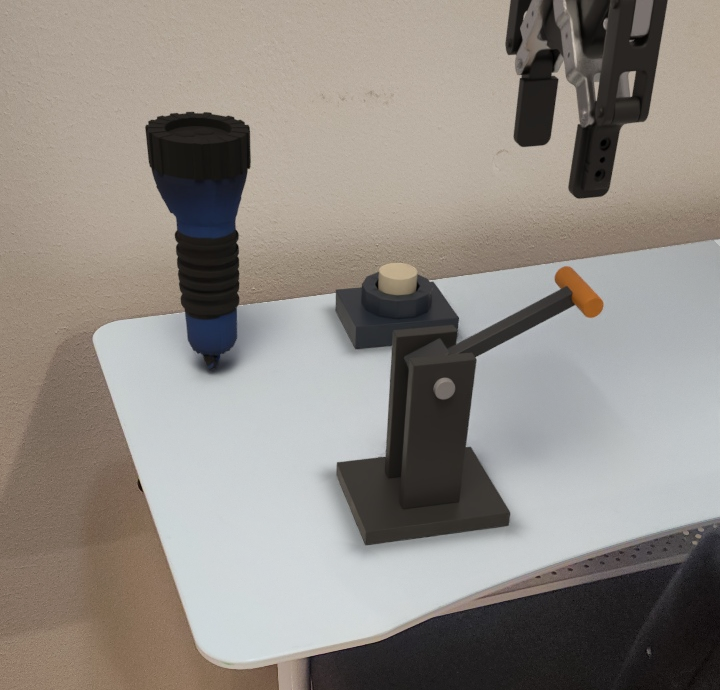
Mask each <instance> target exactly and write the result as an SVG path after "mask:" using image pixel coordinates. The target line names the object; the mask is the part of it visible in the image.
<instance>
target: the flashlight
mask: <svg viewBox="0 0 720 690" xmlns="http://www.w3.org/2000/svg"><path fill="white" fill-rule="evenodd" d="M144 126H145V127H144V128H145V130H144V131H145V137H146V138H145V139H146V147H147V149H146V150H147V156H148V157H147V159H148V164H149V168H150V169H151V173H152V177H153V180H154V182H155V185H156V186H155V187H156V189H157V191H158V193H159V195H160V197H161V199H162V201H163V202H164V204H165V206H166V208H167V209H168V212H169V213H170V214H172V215H173V216H174V217H175V220H176V221H175V222H176V230H175V232H174V240H175V241H176V245H175V255H176V256H177V258H176V266H177V269H178V271H177V272H178V273H177V276H178V281H179V282H178V287H179V291H180V293H181V295H180V305H181V306H182V308H183V309H184V317H185V325H186V337H187V341H188V343H189V345H190V347H191V348H192V349H191V350H192V351H194V352H195V353H197V354H198V355H199V354H200V355H202V356H203V357H202V358H203V360H204V363H205V367H206V368H208V369H209V370H215V369H217V368H218V366H219V364H220V361H221V356H222V355H224V354H226V353H227V352H230V350H231V349H232V348H234V346H235V344H236V343H237V340H238V306H239V305H240V295H239V293H238V292H239V290H240V270H239V268H240V258H239V255H240V246H239V244H238V241H239V240H240V239H239V238H240V234H239V233H240V232H239V231H238V230H237V227H236V223H237V222H236V221H237V216H238V212H239V208H240V204H241V201H242V195H243V192H244V189H245V185H246V182H247V179H248V177H247V176H248V170H250V169H251V165H252V164H251V163H252V156H251V155H252V154H251V153H252V152H251V127H250V125H249V124H246V122H245V121H244V120H242V119H235V117H234V116H232V115H222V114H221V115H220V114H213V113H212V112H210V111H209V112H208V111H204V112H197V113H196V112H194V111H186V112H185V113H178V112H173V113H172V112H171V113H169V115H158V116H156V118H155V119H150V120H148V121H147V124H145V125H144Z"/></svg>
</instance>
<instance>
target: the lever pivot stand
mask: <svg viewBox="0 0 720 690" xmlns="http://www.w3.org/2000/svg"><path fill="white" fill-rule="evenodd" d="M458 331H459V330H458ZM458 331H457V330H456V328H455V327H454V325H446V326H435V327H425V328H414V329H403V330H393V337H392V345H391V357H390V371H389V373H390V374H389V390H388V391H389V392H388V406H387V408H388V409H387V425H386V443H385V445H386V446H385V456H378V457H370V458H362V459H354V460H353V459H352V460H345V461H336V477H337V480H338V482H339V485H340V487H341V489H342V492H343V494H344V496H345V499H346V501H347V504H348V506H349V509H350V511H351V514H352V516H353V519H354V521H355V523H356V525H357V528H358V531H359V533H360V535H361V537H362V540H363V542H364V545H365V546H367V545H368V546H369V545H376V544H382V543H383V544H384V543H390V542H398V541H404V540H411V539H421V538H426V537H435V536H440V535H448V534H456V533H464V532H471V531H478V530H486V529H492V528H501V527H508V526H509V523H510V518H511V511H510V509H509V508H508V506H507V504H506V503H505V501H504V499H503V498H502V496H501V494H500V493H499V491H498V489H497V488H496V486H495V484H494V483H493V481H492V479H491V477H490V476H489V475H488V473H487V471H486V470H485V467H484V466H483V465H482V463H481V461H480V459H479V458H478V456H477V455H476V453H475V451H474V450H473V448H472V447H471V446H467V441H468V435H469V434H468V432H469V425H470V417H471V410H472V401H473V393H474V385H475V376H476V368H477V357H475V356H474V355H473V353H461V354H451V355H441V356H431V357H420V358H410V360H409V369H408V366H407V364H406V362H405V360H404V357H405V356H406V355H408V354H410V353H412V352H414V351H416V350H418V349H420V348H422V347H424V346H425V345H427V344H429V343H431V342H433V341H435V340H437V339H439V338H440V339H441V340H442V342H443V343H444V345H445V347H446V348H447V349H448V348H450V347H452V346H454V345H455V344H457V343H458V342H457V341H458V333H457V332H458Z"/></svg>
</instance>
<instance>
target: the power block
mask: <svg viewBox="0 0 720 690" xmlns="http://www.w3.org/2000/svg"><path fill="white" fill-rule="evenodd" d="M378 281H379V271H377V272H375V273H372V274H370V275H367V276H366V277H365V278H364V280H363V281H362V283H361V287H351V288H349V287H348V288H338V289H335V312H336V315H337V317H338V318H339V321H340V322H341V324H342V326H343V328H344V330H345V331H346V333H347V336H348V337H349V339H350V341H351V343H352V345H353V347H354V349H355V350H356V349H369V348H379V347H388V346H389V347H390V346H392V337H393V330H403V329H414V328H425V327H435V326H446V325H454V327H455V328H456V330H457V331H459V323H460V322H459V321H460V317H459V315H458V314H457V312H456V310H454V308H453V307H452V306H451V304H450V302H449V301H448V300H447V298H446V297H445V295H444V294H443V293H442V291H441V290H440V289H439V287H438V286H437V284H436V283H435V281H430V280H429V279H428V278H427V277H425V276H422V275H421V274H418V273H417V286H416V292H414V293H411V294H406V295H393V294H386V293H384V292H382V291H380V290H379V289H378ZM457 334H458V332H457Z"/></svg>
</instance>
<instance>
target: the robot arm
mask: <svg viewBox="0 0 720 690" xmlns="http://www.w3.org/2000/svg"><path fill="white" fill-rule="evenodd" d="M668 1H669V0H510V2H509V8H508V9H509V10H508V19H507V27H506V35H505V42H504V43H505V44H504V45H505V51H506V54H507V55H508V56H515V60H514V69H515V70H514V71H515V73H516V75H517V76H520V77H519V81H518V91H517V101H516V107H515V108H516V109H515V116H514V117H515V119H514V127H513V140H514V142H515V143H516V144H517V145H518V146H520V147H521V148H529V147H543V146H546V145H547V144H548V143H549V142H550V140H551V138H552V132H553V131H552V130H553V124H554V118H555V116H554V115H555V109H556V103H557V102H556V101H557V95H558V86H559V78H558V77H557V76H555V75H553V74H555V73H558V72H559V71H560V69H561V67H562V65H563V63H564V65H563V66H564V73H565V78H566V81H567V82H568V83H569V84H570V85H572V86H573V87H574V88H575V92H576V102H577V103H576V104H577V111H578V121H579V123H577V127H576V133H575V139H574V146H573V153H572V159H571V165H570V167H571V168H570V172H569V179H568V185H567V189H568V192H569V193H570V194H571V195H572V196H573V197H574V198H575V199H578V200H581V199H591V198H592V199H593V198H601V197H604V196H605V195H607V194H608V192H609V190H610V188H611V183H612V177H613V171H614V165H615V160H616V155H617V149H618V143H619V137H620V132H621V129H622V128H623V126H624V125H627V124H635V123H644V122H646V121H647V119H648V117H649V114H650V109H651V103H652V96H653V91H654V85H655V79H656V73H657V69H658V67H657V66H658V63H659V62H658V61H659V56H660V51H661V43H662V37H663V32H664V26H665V19H666V14H667V8H668ZM631 72H635V74H634V81H633V86H632V93H631V91H630V90H631V89H630V80H629V74H630V73H631ZM595 83H598V88H597V96H596V89H595V87H596V86H595Z"/></svg>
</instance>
